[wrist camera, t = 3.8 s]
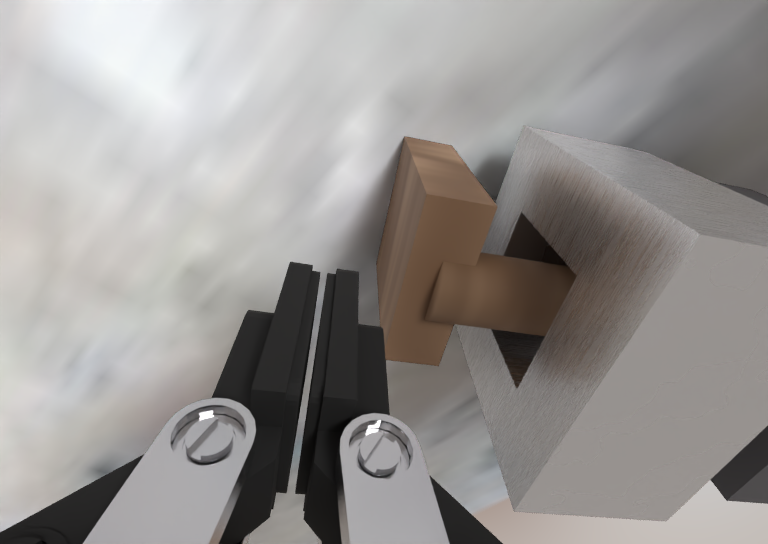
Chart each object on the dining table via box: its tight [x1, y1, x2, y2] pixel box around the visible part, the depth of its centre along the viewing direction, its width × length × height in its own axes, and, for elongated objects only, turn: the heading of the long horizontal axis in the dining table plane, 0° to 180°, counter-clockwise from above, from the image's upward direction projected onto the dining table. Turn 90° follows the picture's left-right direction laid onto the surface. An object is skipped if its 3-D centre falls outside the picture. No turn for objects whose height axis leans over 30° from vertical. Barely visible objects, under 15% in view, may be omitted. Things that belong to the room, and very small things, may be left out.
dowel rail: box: [376, 136, 577, 366], centre depth 17 cm, size 29×6×7 cm, turn 79°
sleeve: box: [455, 126, 768, 521], centre depth 13 cm, size 5×9×9 cm, turn 169°
